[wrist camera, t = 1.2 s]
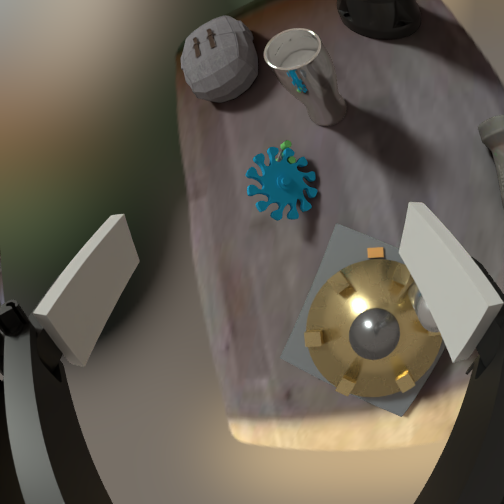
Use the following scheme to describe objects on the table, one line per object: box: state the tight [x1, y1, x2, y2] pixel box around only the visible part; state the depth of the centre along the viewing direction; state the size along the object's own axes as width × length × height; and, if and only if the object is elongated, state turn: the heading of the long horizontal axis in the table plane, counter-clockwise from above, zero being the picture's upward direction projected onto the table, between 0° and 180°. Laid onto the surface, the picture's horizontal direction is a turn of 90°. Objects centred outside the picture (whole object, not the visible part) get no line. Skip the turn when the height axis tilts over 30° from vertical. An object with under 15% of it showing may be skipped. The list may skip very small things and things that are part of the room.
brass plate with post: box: [304, 259, 442, 397], centre depth 25 cm, size 17×17×15 cm
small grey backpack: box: [181, 16, 258, 103], centre depth 42 cm, size 15×8×20 cm
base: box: [280, 223, 446, 417], centre depth 32 cm, size 20×20×2 cm
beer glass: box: [264, 28, 347, 126], centre depth 30 cm, size 7×7×15 cm
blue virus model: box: [246, 140, 317, 221], centre depth 38 cm, size 11×6×10 cm
